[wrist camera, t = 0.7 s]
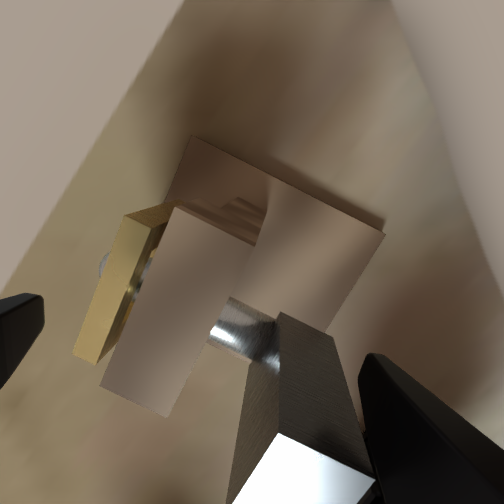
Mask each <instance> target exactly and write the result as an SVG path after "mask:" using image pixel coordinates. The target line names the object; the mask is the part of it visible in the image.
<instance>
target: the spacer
mask: <svg viewBox="0 0 504 504" xmlns="http://www.w3.org/2000/svg"><path fill="white" fill-rule="evenodd" d="M184 203H186V202H184V201H182V200H180V199H177V200H174V201H170V202H167V203H164V204H160V205H157V206H154V207H150V208H147V209H144V210H140V211H137V212H134V213H130V214H127V215H124V217H123V220H122V222H121V225H120V228H119V230H118V233H117V235H116V238H115V241H114V243H113V246H112V249H111V251H110V254H109V257H108V259H107V262H106V265H105V267H104V270H103V273H102V275H101V278H100V280H99V283H98V286H97V288H96V291H95V294H94V296H93V299H92V302H91V304H90V307H89V310H88V312H87V315H86V318H85V320H84V323H83V325H82V328H81V331H80V333H79V336H78V339H77V341H76V344H75V347H74V349H73V352H72V354H73V355H75V356H77V357H79V358H81V359H83V360H85V361H87V362H90V363H92V364H94V365H96V364H97V363H98V362H99V361H100V360H101V359H102V358H103V357H104V356H105V355H106V354H107V353H108V351H109V350H110V349H111V348H112V347H113V346H114V345H115V344H116V343H117V342H118V341H119V338H120V336H121V333H122V331H123V329H124V326H125V324H126V322H127V319H128V317H129V314H130V312H131V310H132V307H133V305H134V302H132V301H131V300H132V298H133V295H134V293H135V290H136V288H137V286H138V283H139V281H140V278H141V276H142V274H143V271H144V269H145V266H146V264H147V262H148V259H149V257H152V258H153V257H154V255H155V253H156V250H157V248H158V246H159V243H160V241H161V238H162V236H163V234H164V231H165V229H166V227H167V224H168V222H169V219H170V217H171V215H172V212H173V210H174V208H175V207H176V206H178V205H181V204H184Z"/></svg>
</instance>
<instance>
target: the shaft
mask: <svg viewBox="0 0 504 504" xmlns="http://www.w3.org/2000/svg"><path fill="white" fill-rule="evenodd" d="M109 254H110V252H109V253H107V254H106V255H105V256H104V258H103V259H102V261H101V263H100V266H99V277H100V278H101V275H102V273H103V270H104V267H105V265H106V262H107V259H108V257H109ZM152 260H153V258H152V257H149V259H148V262H147V264H146V266H145V269H144V271H143V274H142V276H141V278H140V281H139V283H138V286H137V288H136V290H135V293H134V295H133V298H132V300H131V301H132V302H134V303H135V300H136V298H137V295H138V293H139V291H140V288H141V286H142V284H143V281H144V279H145V276H146V274H147V272H148V269H149V267H150V265H151V262H152ZM208 339H210V340H212V341H214V342H216V343H218V344H220V345H222V346H224V347H226V348H228V349H230V350H232V351H234V352H236V353H238V354H240V355H242V356H244V357H246V358H248V359H251V360H252V362H251V363H250V365H249V369H248V375H247V381H246V387H245V393H244V399H243V405H242V411H241V417H240V422H239V428H238V434H237V440H236V446H235V452H234V458H233V464H232V470H231V476H230V482H229V487H228V493H227V499H226V504H357V503H358V501H359V500H360V499H361V498H362V496H363V495H364V494H365V493H366V491H367V490H368V489H369V488H370V486H371V485H372V484H373V483H374V481H375V476H374V473H373V470H372V466H371V463H370V460H369V456H368V453H367V450H366V446H365V443H364V440H363V436H362V433H361V429H360V426H359V423H358V419H357V416H356V413H355V409H354V406H353V403H352V399H351V396H350V393H349V389H348V386H347V382H346V379H345V376H344V372H343V369H342V366H341V362H340V359H339V356H338V352H337V349H336V346H335V342H334V339H333V337H331V336H329V335H327V334H325V333H323V332H321V331H319V330H317V329H315V328H313V327H311V326H309V325H307V324H305V323H303V322H301V321H299V320H297V319H295V318H293V317H291V316H289V315H287V314H285V313H283V312H281V311H280V313H279V314H278V316H277V318H276V319H275V318H273V317H271V316H269V315H267V314H265V313H263V312H261V311H259V310H257V309H255V308H253V307H251V306H249V305H247V304H245V303H243V302H241V301H239V300H237V299H235V298H233V297H230V296H229V298H228V300H227V302H226V304H225V306H224V308H223V310H222V312H221V314H220V316H219V318H218V320H217V322H216V324H215V326H214V328H213V330H212V332H211V333H210V335H209V337H208Z"/></svg>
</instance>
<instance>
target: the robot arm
mask: <svg viewBox="0 0 504 504" xmlns="http://www.w3.org/2000/svg"><path fill="white" fill-rule="evenodd" d="M44 323H45V315H44V299H43V297H42V296H41V295H36V294H31V293H22V294H19V295H15V296H11V297H8V298H4V299H0V389H1V388H2V387H3V386H4V384H5V383H6V382H7V381H8V379H9V378H10V377H11V375H12V374H13V372H14V371H15V370H16V368H17V367H18V365H19V364H20V362H21V361H22V359H23V358H24V356H25V355H26V353H27V352H28V350H29V349H30V347H31V346H32V345H33V343H34V342H35V340H36V339H37V337H38V336H39V334H40V333H41V331H42V329H43V327H44ZM358 387H359V393H360V399H361V404H362V410H363V416H364V422H365V428H366V432H365V433H364V435H363V440H364V443H365V446H366V450H367V453H368V456H369V460H370V463H371V466H372V470H373V473H374V476H375V481H374V483H373V484H372V485H371V486H370V488H369V489H368V490H367V491H366V493H365V494H364V495H363V496H362V498H361V499H360V500H359V501H358V503H357V504H504V450H503V449H502V448H501V447H499V446H498V445H497V444H495V443H494V442H493V441H492V440H490V439H489V438H488V437H487V436H485V435H484V434H483V433H482V432H480V431H479V430H478V429H477V428H475V427H474V426H473V425H471V424H470V423H469V422H468V421H466V420H465V419H464V418H463V417H461V416H460V415H459V414H458V413H456V412H455V411H454V410H453V409H451V408H450V407H449V406H447V405H446V404H445V403H444V402H442V401H441V400H440V399H439V398H437V397H436V396H435V395H434V394H432V393H431V392H430V391H429V390H427V389H426V388H425V387H424V386H422V385H421V384H420V383H418V382H417V381H416V380H415V379H413V378H412V377H411V376H410V375H408V374H407V373H406V372H405V371H403V370H402V369H401V368H400V367H398V366H397V365H396V364H395V363H393V362H392V361H391V360H389V359H388V358H387V357H386V356H384V355H382V354H376V353H368V354H367V356H366V358H365V360H364V363H363V365H362V368H361V370H360V373H359V375H358Z"/></svg>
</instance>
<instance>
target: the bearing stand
mask: <svg viewBox="0 0 504 504" xmlns="http://www.w3.org/2000/svg"><path fill="white" fill-rule="evenodd" d="M177 199H180V200H182V201H184V202H186V203H184V204H181V205H178V206H176V207H175V208H174V210H173V212H172V215H171V217H170V219H169V222H168V224H167V227H166V229H165V231H164V234H163V236H162V238H161V241H160V243H159V246H158V248H157V250H156V253H155V255H154V257H153V260H152V262H151V265H150V267H149V269H148V272H147V274H146V276H145V279H144V281H143V284H142V286H141V288H140V291H139V293H138V295H137V298H136V300H135V303H134V305H133V307H132V310H131V312H130V314H129V317H128V319H127V322H126V324H125V326H124V329H123V331H122V333H121V336H120V338H119V341H118V343H117V345H116V348H115V350H114V352H113V355H112V357H111V360H110V362H109V364H108V367H107V369H106V371H105V374H104V376H103V379H102V381H101V383H100V386H101V387H103V388H105V389H107V390H109V391H111V392H113V393H115V394H117V395H119V396H122V397H124V398H126V399H128V400H130V401H132V402H134V403H136V404H138V405H140V406H142V407H145V408H147V409H149V410H151V411H153V412H155V413H157V414H159V415H161V416H163V417H165V418H167V417H168V416H169V414H170V412H171V410H172V408H173V406H174V404H175V402H176V400H177V398H178V396H179V394H180V392H181V390H182V388H183V386H184V384H185V382H186V380H187V378H188V376H189V374H190V373H191V371H192V369H193V367H194V365H195V363H196V361H197V359H198V357H199V355H200V353H201V351H202V349H203V347H204V345H205V343H208V344H210V345H212V346H214V347H216V348H219V349H221V350H223V351H225V352H227V353H229V354H231V355H233V356H235V357H237V358H239V359H241V360H243V361H245V362H247V363H249V364H250V363H251V362H252V360H251V359H248V358H246V357H244V356H242V355H240V354H238V353H236V352H234V351H232V350H230V349H228V348H226V347H224V346H222V345H220V344H218V343H216V342H214V341H212V340H210V339H208V337H209V335H210V333H211V332H212V330H213V328H214V326H215V324H216V322H217V320H218V318H219V316H220V314H221V312H222V310H223V308H224V306H225V304H226V302H227V300H228V298H229V296H230V297H233V298H235V299H237V300H239V301H241V302H243V303H245V304H247V305H249V306H251V307H253V308H255V309H257V310H259V311H261V312H263V313H265V314H267V315H269V316H271V317H273V318H275V319H276V318H277V316H278V314H279V313H280V311H281V312H283V313H285V314H287V315H289V316H291V317H293V318H295V319H297V320H299V321H301V322H303V323H305V324H307V325H309V326H311V327H313V328H315V329H317V330H319V331H321V332H323V333H324V332H325V331H326V329H327V328H328V326H329V325H330V323H331V321H332V320H333V318H334V317H335V315H336V313H337V312H338V310H339V309H340V307H341V305H342V304H343V302H344V301H345V299H346V297H347V296H348V294H349V293H350V291H351V290H352V288H353V286H354V285H355V283H356V282H357V280H358V278H359V277H360V275H361V274H362V272H363V270H364V269H365V267H366V266H367V264H368V262H369V261H370V259H371V258H372V256H373V255H374V253H375V251H376V250H377V248H378V247H379V245H380V243H381V242H382V240H383V239H384V237H385V235H386V234H384V233H383V232H381V231H379V230H377V229H375V228H373V227H371V226H369V225H367V224H365V223H363V222H361V221H360V220H358V219H356V218H354V217H352V216H350V215H348V214H346V213H344V212H342V211H340V210H338V209H336V208H334V207H332V206H330V205H328V204H326V203H324V202H322V201H320V200H318V199H316V198H314V197H313V196H311V195H309V194H307V193H305V192H303V191H301V190H299V189H297V188H295V187H293V186H291V185H289V184H287V183H285V182H283V181H281V180H279V179H277V178H275V177H273V176H271V175H269V174H267V173H265V172H264V171H262V170H260V169H258V168H256V167H254V166H252V165H250V164H248V163H246V162H244V161H242V160H240V159H238V158H236V157H234V156H232V155H230V154H228V153H226V152H224V151H222V150H220V149H218V148H217V147H215V146H213V145H211V144H209V143H207V142H205V141H203V140H201V139H199V138H197V137H195V136H191V138H190V141H189V143H188V146H187V148H186V150H185V153H184V155H183V158H182V160H181V163H180V165H179V168H178V170H177V172H176V175H175V177H174V180H173V182H172V185H171V187H170V190H169V192H168V194H167V197H166V199H165V202H164V203H167V202H170V201H174V200H177Z"/></svg>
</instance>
